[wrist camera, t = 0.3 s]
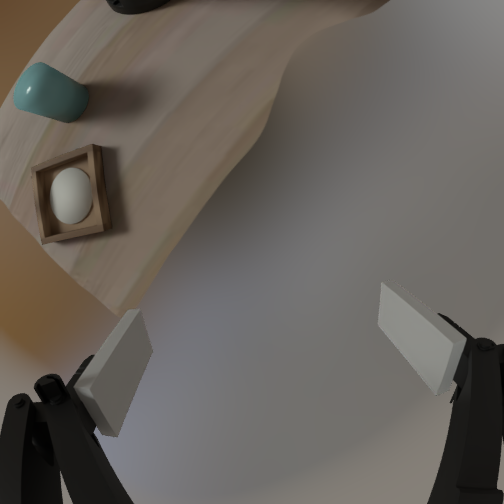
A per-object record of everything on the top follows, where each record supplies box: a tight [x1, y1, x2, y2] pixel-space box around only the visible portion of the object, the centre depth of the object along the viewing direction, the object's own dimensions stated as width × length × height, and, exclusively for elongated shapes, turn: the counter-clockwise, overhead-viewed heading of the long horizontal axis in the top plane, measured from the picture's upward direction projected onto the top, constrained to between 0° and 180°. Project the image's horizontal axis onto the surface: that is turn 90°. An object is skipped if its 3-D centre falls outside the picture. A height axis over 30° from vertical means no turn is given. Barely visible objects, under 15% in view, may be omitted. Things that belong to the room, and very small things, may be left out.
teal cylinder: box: [14, 62, 89, 123], centre depth 29 cm, size 7×7×12 cm
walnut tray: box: [31, 144, 112, 245], centre depth 37 cm, size 13×13×3 cm
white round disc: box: [50, 168, 93, 224], centre depth 37 cm, size 9×9×1 cm
